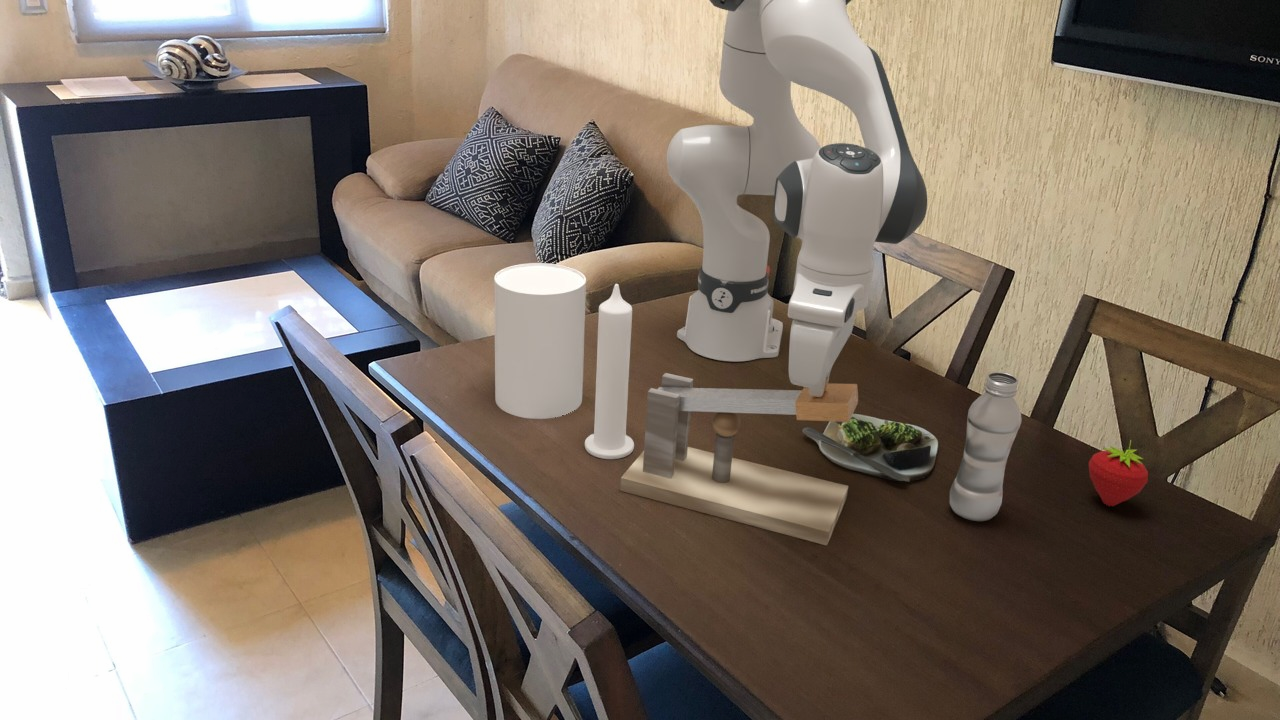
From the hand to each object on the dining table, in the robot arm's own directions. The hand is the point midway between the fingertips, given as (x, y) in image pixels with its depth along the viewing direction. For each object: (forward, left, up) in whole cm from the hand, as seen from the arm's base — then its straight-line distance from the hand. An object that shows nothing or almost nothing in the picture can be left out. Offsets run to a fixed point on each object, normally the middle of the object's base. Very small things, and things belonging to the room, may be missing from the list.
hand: (817, 391), depth 124 cm
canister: (-13, -45, -18) cm, 50 cm away
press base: (0, -9, -18) cm, 20 cm away
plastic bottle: (-10, +21, -18) cm, 29 cm away
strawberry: (-21, +38, -18) cm, 47 cm away
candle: (-4, -29, -18) cm, 35 cm away
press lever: (0, -8, -4) cm, 9 cm away
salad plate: (-21, +7, -18) cm, 29 cm away
